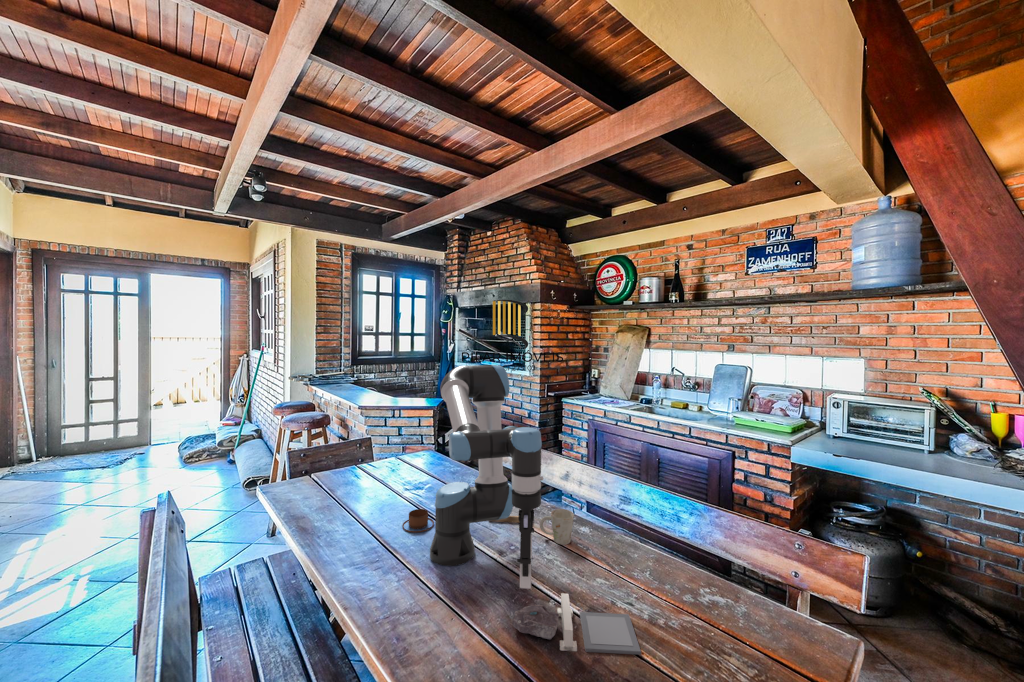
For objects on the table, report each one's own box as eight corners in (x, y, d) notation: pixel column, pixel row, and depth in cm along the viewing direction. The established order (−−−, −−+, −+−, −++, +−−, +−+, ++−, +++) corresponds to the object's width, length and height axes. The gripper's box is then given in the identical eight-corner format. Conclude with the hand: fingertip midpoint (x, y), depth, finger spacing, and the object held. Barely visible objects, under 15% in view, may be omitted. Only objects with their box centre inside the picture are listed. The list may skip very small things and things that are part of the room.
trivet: (585, 651, 98) (585, 648, 98) (579, 614, 111) (579, 611, 111) (640, 654, 97) (641, 650, 97) (628, 617, 110) (628, 613, 110)
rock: (515, 614, 110) (516, 597, 110) (558, 622, 108) (559, 604, 108) (510, 635, 102) (512, 616, 102) (556, 644, 100) (558, 624, 100)
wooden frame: (488, 523, 165) (488, 516, 165) (493, 506, 182) (493, 499, 182) (531, 524, 164) (531, 517, 164) (531, 507, 181) (531, 500, 181)
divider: (560, 650, 99) (560, 629, 98) (557, 611, 113) (557, 593, 112) (576, 651, 98) (577, 630, 98) (572, 612, 112) (572, 593, 112)
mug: (572, 547, 147) (573, 519, 146) (537, 543, 149) (538, 516, 149) (574, 536, 155) (574, 510, 155) (540, 533, 157) (541, 507, 157)
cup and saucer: (395, 532, 157) (395, 516, 157) (414, 519, 168) (414, 504, 168) (422, 538, 153) (422, 522, 153) (439, 524, 164) (439, 509, 164)
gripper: (541, 509, 93) (541, 603, 93) (540, 473, 118) (540, 547, 118) (508, 508, 94) (508, 601, 94) (514, 473, 119) (514, 546, 119)
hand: (526, 571), depth 106 cm, fingers open, 13 cm apart
